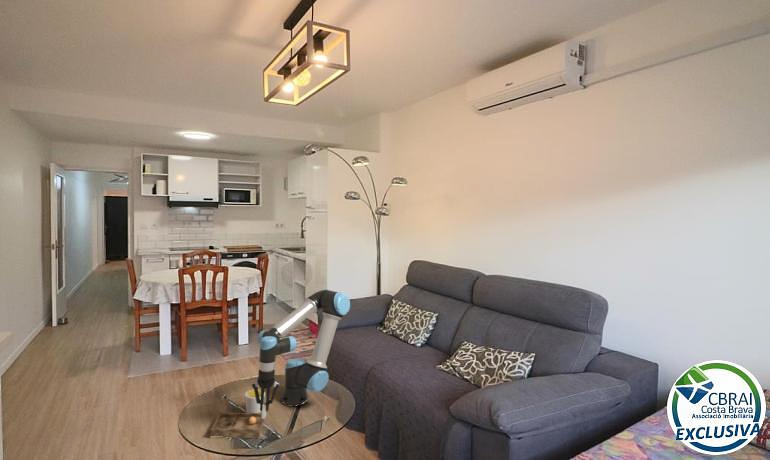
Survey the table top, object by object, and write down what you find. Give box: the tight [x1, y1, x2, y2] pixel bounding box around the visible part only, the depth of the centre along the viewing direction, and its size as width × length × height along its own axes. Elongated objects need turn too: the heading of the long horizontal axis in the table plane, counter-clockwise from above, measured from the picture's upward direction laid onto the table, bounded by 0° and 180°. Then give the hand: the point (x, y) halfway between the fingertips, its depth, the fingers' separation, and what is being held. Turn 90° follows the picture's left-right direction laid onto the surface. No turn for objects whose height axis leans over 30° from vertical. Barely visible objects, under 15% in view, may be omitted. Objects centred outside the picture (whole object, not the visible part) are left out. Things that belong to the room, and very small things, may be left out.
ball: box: [249, 417, 256, 424], centre depth 204 cm, size 4×4×4 cm
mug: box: [244, 389, 266, 413], centre depth 221 cm, size 14×10×10 cm
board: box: [209, 412, 265, 439], centre depth 203 cm, size 22×16×4 cm
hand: (263, 417), depth 204 cm, fingers closed
